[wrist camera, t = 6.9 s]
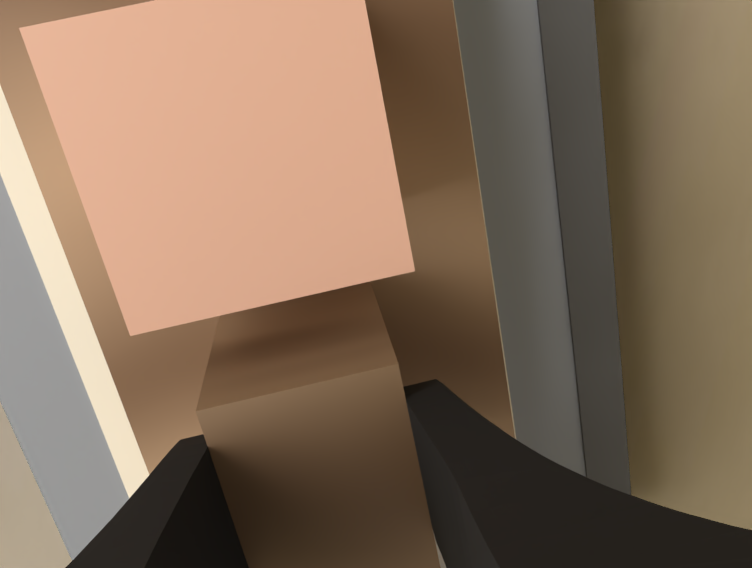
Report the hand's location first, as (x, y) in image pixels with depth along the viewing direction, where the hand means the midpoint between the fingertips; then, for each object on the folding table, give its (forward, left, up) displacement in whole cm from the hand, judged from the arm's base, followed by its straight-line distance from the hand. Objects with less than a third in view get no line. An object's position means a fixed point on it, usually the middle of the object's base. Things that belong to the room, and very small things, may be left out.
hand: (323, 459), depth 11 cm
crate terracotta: (+5, 0, -3) cm, 6 cm away
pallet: (0, 0, -5) cm, 5 cm away
